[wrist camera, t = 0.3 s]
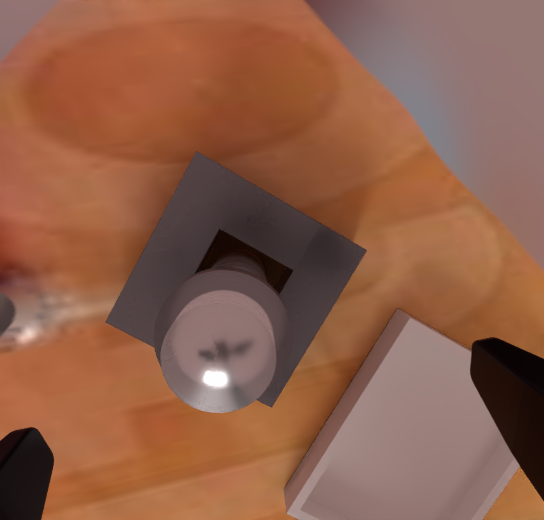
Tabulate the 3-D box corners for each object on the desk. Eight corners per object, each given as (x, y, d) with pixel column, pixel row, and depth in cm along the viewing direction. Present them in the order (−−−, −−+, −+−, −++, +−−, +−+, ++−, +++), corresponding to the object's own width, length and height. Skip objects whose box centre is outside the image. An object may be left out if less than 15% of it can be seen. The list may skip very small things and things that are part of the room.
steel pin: (252, 323, 24) (249, 457, 11) (188, 289, 23) (110, 389, 11) (288, 261, 23) (327, 329, 11) (224, 225, 23) (185, 252, 10)
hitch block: (269, 382, 24) (271, 407, 21) (124, 306, 23) (105, 322, 20) (352, 244, 23) (366, 250, 20) (204, 157, 22) (196, 151, 19)
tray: (422, 556, 26) (435, 585, 24) (284, 489, 25) (286, 513, 23) (538, 388, 25) (563, 404, 23) (397, 308, 24) (410, 317, 22)
